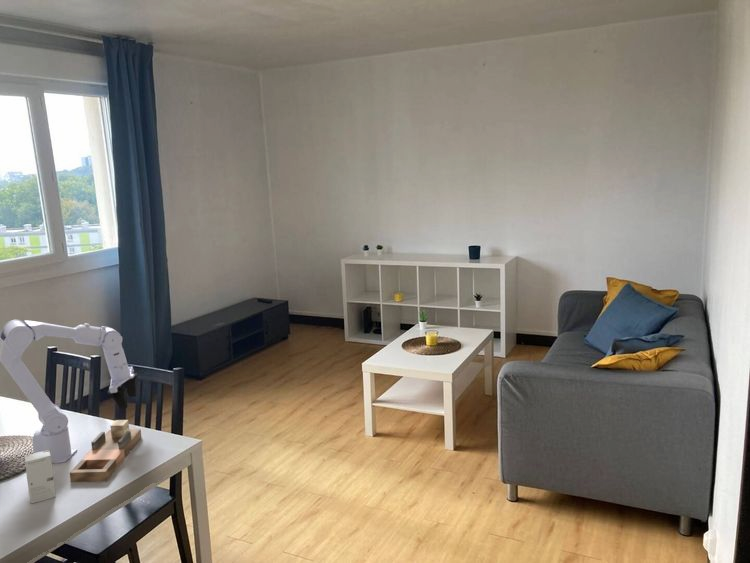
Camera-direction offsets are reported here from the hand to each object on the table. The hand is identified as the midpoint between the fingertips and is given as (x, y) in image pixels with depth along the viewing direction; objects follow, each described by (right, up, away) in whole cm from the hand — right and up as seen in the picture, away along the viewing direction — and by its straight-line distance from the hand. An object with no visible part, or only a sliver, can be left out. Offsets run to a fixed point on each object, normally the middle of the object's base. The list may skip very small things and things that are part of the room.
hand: (128, 402), depth 193 cm
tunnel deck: (-1, -14, -13) cm, 19 cm away
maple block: (-1, -9, -4) cm, 10 cm away
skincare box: (-9, -19, -33) cm, 39 cm away
